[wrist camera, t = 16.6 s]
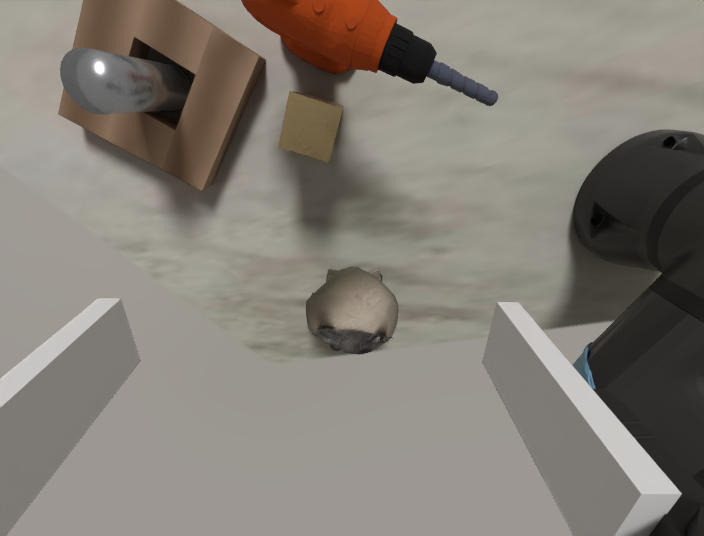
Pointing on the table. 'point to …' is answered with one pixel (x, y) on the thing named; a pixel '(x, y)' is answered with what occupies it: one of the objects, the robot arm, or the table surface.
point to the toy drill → (359, 41)
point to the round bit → (122, 83)
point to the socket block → (204, 97)
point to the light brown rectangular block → (310, 126)
